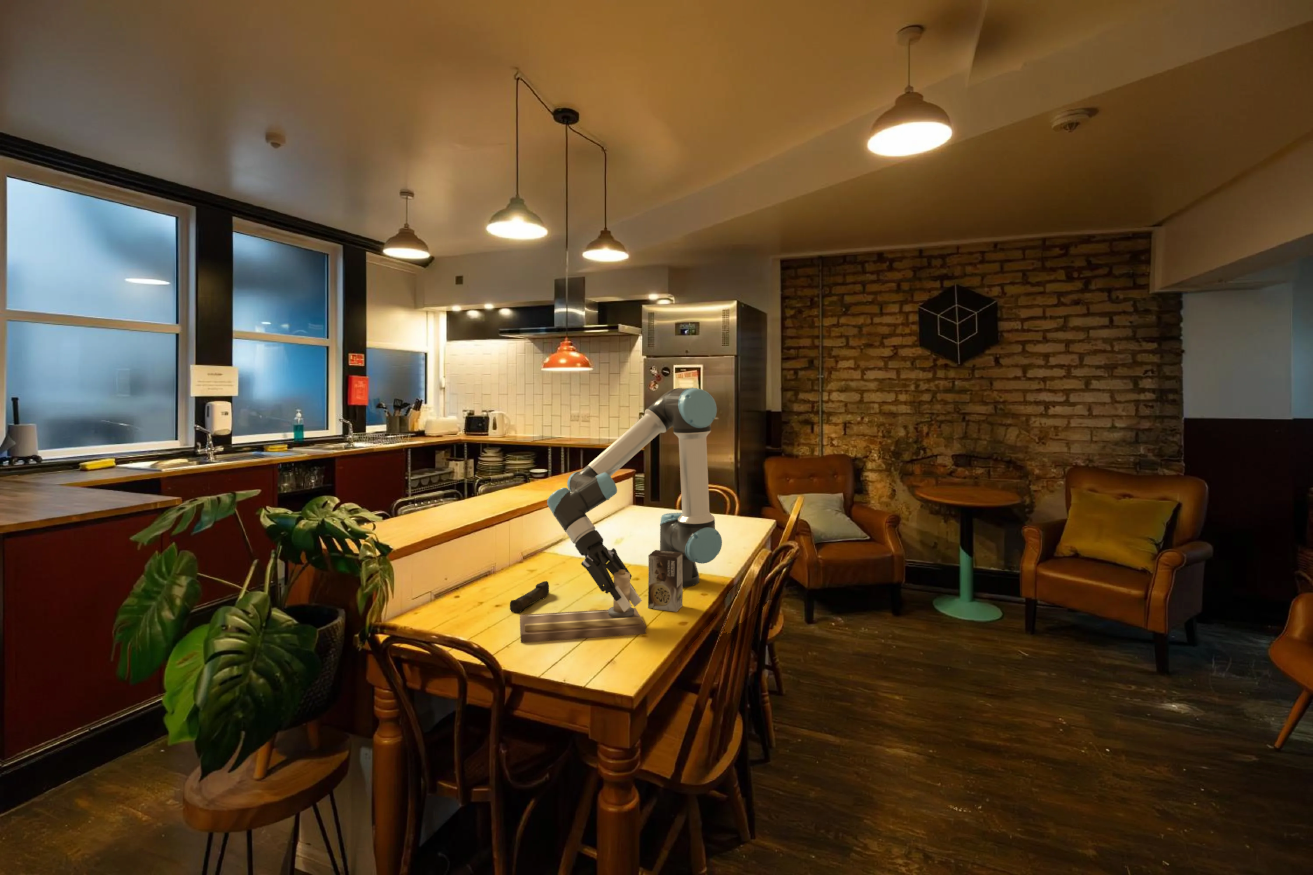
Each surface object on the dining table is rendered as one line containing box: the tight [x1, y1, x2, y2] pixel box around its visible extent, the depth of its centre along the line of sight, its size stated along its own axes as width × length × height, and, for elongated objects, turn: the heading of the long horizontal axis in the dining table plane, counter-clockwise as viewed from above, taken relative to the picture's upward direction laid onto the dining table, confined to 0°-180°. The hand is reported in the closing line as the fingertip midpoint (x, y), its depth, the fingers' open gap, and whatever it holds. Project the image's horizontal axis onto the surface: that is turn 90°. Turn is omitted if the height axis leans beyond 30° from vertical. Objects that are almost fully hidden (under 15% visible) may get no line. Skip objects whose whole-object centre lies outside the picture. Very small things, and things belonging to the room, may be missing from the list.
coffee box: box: [647, 549, 684, 613], centre depth 182 cm, size 9×6×16 cm
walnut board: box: [519, 607, 647, 643], centre depth 165 cm, size 32×14×4 cm, turn 103°
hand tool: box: [509, 580, 550, 614], centre depth 184 cm, size 19×4×5 cm, turn 158°
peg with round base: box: [607, 569, 634, 618], centre depth 168 cm, size 7×7×12 cm
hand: (633, 606), depth 166 cm, fingers closed on peg with round base, 4 cm apart
